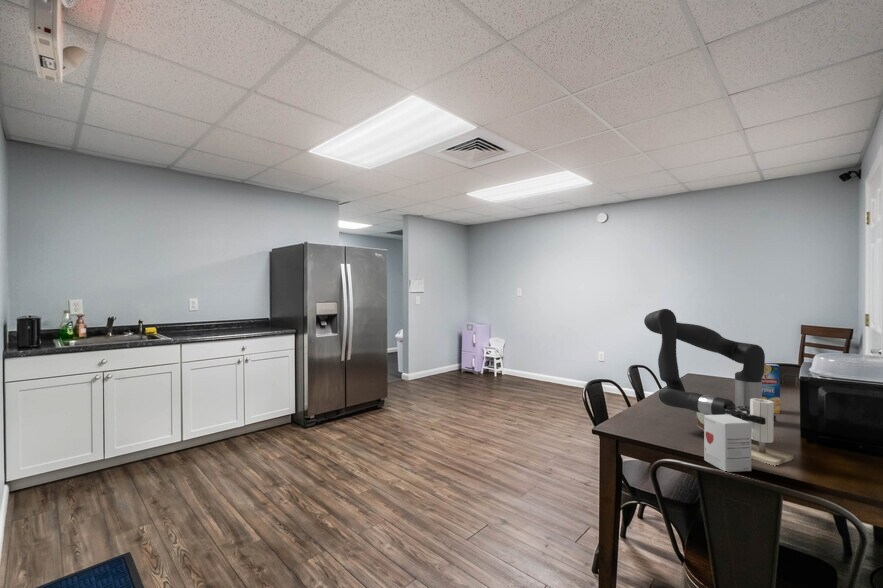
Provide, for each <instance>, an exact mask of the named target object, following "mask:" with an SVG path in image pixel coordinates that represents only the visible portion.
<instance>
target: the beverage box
mask: <svg viewBox="0 0 883 588" xmlns="http://www.w3.org/2000/svg"><path fill="white" fill-rule="evenodd" d="M780 370H781V366H780V365H779V364H776V363H774V362H772V363H771V362H765V365H764V375H763V377H762V399H765V400H769V401H772V402H774V414H781V371H780Z"/></svg>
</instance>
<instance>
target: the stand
mask: <svg viewBox="0 0 883 588" xmlns="http://www.w3.org/2000/svg"><path fill="white" fill-rule="evenodd" d="M766 445H767V443H765V442H759V441H758V444H755V443H752V442H751V460H754V461H757V462H760V463H764V464H766V463H767V465H769V464H770V466H773V465H774V466H773V467H776V465H777V466H779V465H782V464H785V463H787V462H790V461H792V459H793V460H794V455H793V454H789V453H786V452H783V451H779V450H775V449H771V448H769V447H767V446H766Z"/></svg>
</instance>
